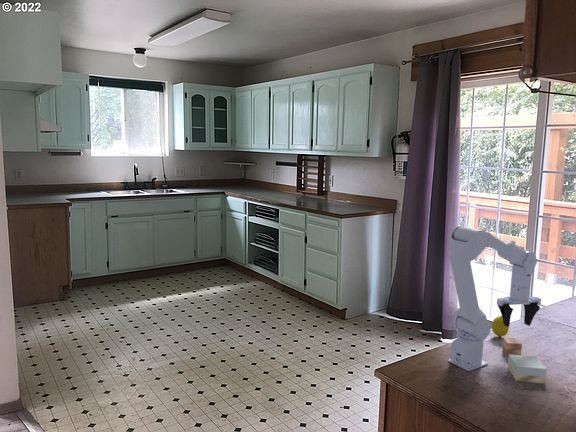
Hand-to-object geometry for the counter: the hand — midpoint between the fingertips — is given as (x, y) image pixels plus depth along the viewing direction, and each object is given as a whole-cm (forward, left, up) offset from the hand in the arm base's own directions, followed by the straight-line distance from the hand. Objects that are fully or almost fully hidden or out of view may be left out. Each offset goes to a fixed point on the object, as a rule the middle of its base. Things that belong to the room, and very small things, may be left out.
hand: (516, 325), depth 155 cm
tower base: (-12, -12, -10) cm, 19 cm away
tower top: (-12, -12, -7) cm, 18 cm away
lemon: (+6, +10, -10) cm, 15 cm away
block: (-3, -1, -10) cm, 10 cm away
